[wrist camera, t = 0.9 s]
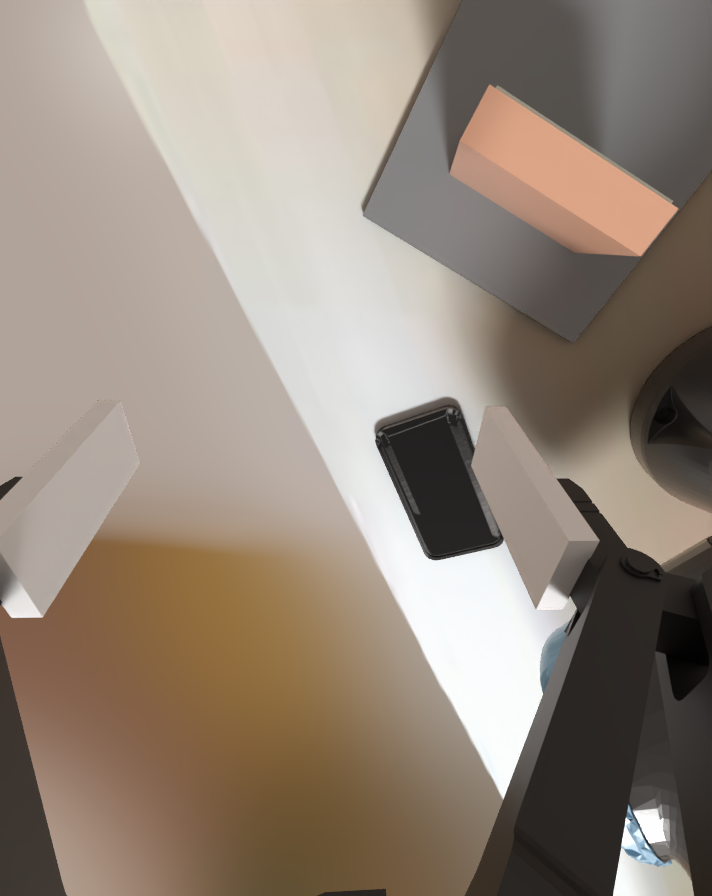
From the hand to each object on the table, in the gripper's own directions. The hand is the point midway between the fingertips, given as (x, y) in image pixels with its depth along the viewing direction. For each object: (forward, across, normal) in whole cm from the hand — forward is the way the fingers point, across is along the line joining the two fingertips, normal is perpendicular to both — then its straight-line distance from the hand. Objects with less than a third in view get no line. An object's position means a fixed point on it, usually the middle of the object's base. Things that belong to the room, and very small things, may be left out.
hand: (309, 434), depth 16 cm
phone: (+17, -11, +16) cm, 26 cm away
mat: (+19, -15, -10) cm, 26 cm away
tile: (+18, -13, -7) cm, 24 cm away
